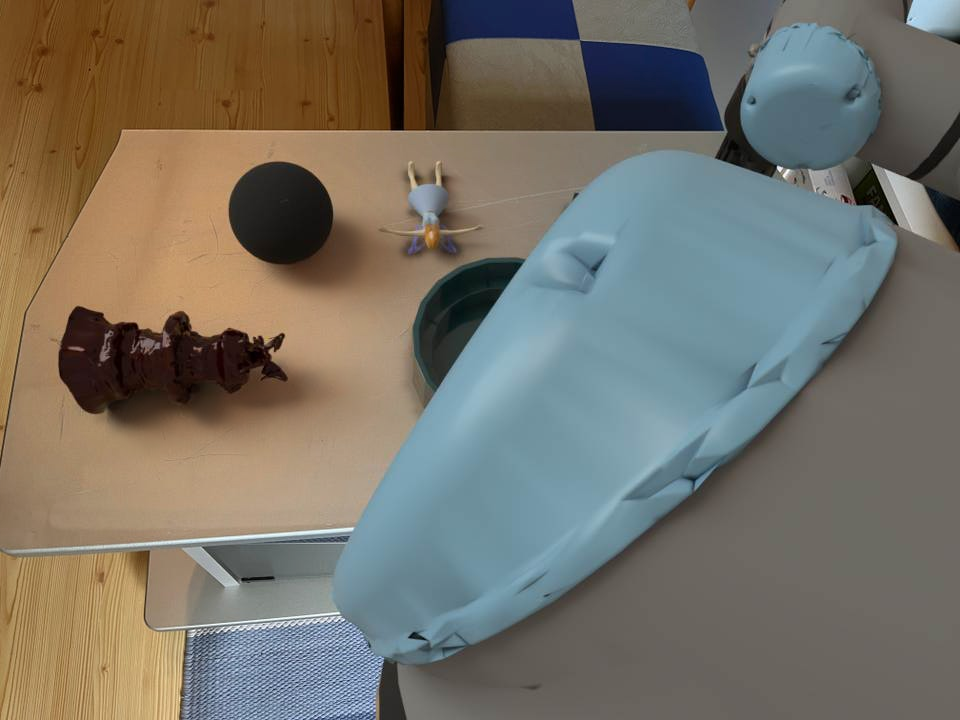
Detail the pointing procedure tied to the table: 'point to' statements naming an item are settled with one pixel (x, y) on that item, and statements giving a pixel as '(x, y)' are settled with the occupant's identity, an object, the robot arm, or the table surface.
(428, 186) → the fairy figurine
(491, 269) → the bowl
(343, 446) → the table surface
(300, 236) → the speaker
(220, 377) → the figurine
